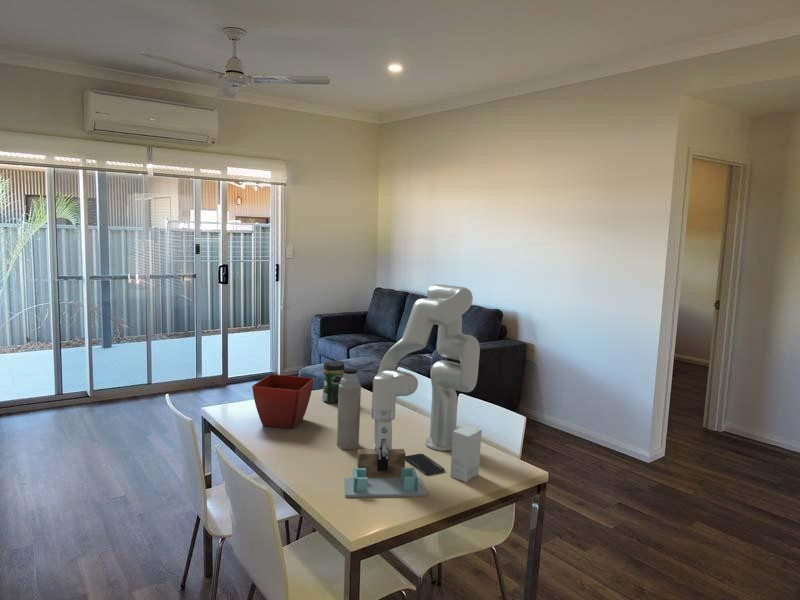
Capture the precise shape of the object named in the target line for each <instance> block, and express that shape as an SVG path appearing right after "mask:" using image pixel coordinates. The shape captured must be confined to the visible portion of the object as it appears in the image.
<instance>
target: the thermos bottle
mask: <svg viewBox="0 0 800 600" xmlns="http://www.w3.org/2000/svg"><path fill="white" fill-rule="evenodd" d="M343 372H344V374H343V378H341V381H340V382H341V384H339V393H338V402H337V429H336V431H337V432H336V446H337V448H339V449H344V450H353V449H357V448H359V445H360V444H359V443H360V422H361V421H360V419H361V399H362V398H361V397H362V395H361V394H362V393H361V392H362V385H361V384H360V379H359V378H360V377H358V373H357V372H358V370H357V369H355V368H345V369H344V370H343Z"/></svg>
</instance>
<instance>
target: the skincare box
mask: <svg viewBox="0 0 800 600" xmlns="http://www.w3.org/2000/svg"><path fill="white" fill-rule="evenodd" d="M482 432H483V430H482V429H481V428H478V427H474V426H471V425H467V424H465V425H463V426H461V427H459V428H456V430H455V431H453V440H452V450H451V456H450V457H451V459H450V473H449V474H450V475H449V476H450V478H453V479H455V480H458V481H461V482H464V483H468V482H469V481H470V480H473V479H474V478H476V477H478V476H479V475H480V474H479V473H480V459H481V446H482Z"/></svg>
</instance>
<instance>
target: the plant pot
mask: <svg viewBox="0 0 800 600" xmlns="http://www.w3.org/2000/svg"><path fill="white" fill-rule="evenodd" d="M314 380H315V379H314V378H313V377H306V376H297V375H296V376H295V375H294V376H293V375H284V374H283V375H282V374H275V373H274V374H273V373H272V374H268V375H267V376H266V377H263V378H262V379H260V380H259V381H257V382H256V383H255V384H253V385H251V388H252V395H253V400H254V403H255V407H256V411H257V414H258V417H259V420H260V423H261V425H262V426H263V427H270V428H281V429H289V430H292V429H294V428H295V427H297V426H298V424H300V422H301V421H303V419H304V417H305V415H306V412H307V409H308V406H309V403H310V399H311V397H312V396H311V395H312V390H313V386H314Z"/></svg>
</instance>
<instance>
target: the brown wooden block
mask: <svg viewBox="0 0 800 600" xmlns="http://www.w3.org/2000/svg"><path fill="white" fill-rule="evenodd" d="M387 450H388V449H387ZM381 453H382V452H381ZM406 454H407V453H406V451H405V449H404V448H392V450H391V451H388V470H387V471H378V470H377V465H378V458H379V451H377V450H376V449H375V448H371V449H369V448H367V449H365V448H364V449H362V448H361V449H359V448H358V449H357V467H356V468H366V476H368V475H372V476H373V475H374V476H375V475H401V468H406V460H405V456H407V455H406Z"/></svg>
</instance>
